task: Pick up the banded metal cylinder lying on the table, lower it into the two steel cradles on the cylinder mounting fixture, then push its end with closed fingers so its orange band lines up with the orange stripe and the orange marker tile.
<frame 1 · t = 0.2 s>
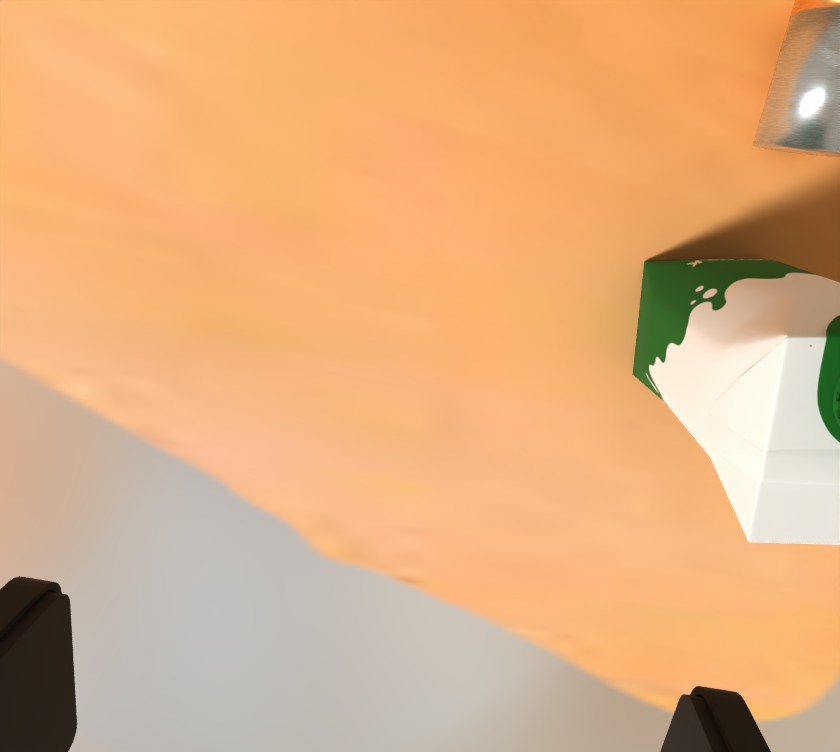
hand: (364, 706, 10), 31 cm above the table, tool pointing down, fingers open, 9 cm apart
milk carton: (694, 319, 38), on the table
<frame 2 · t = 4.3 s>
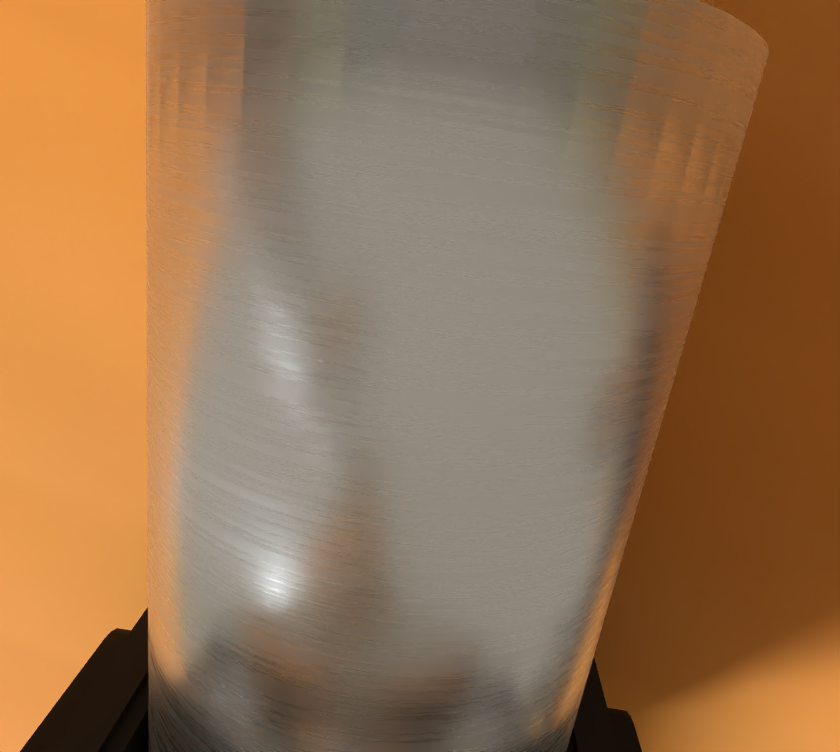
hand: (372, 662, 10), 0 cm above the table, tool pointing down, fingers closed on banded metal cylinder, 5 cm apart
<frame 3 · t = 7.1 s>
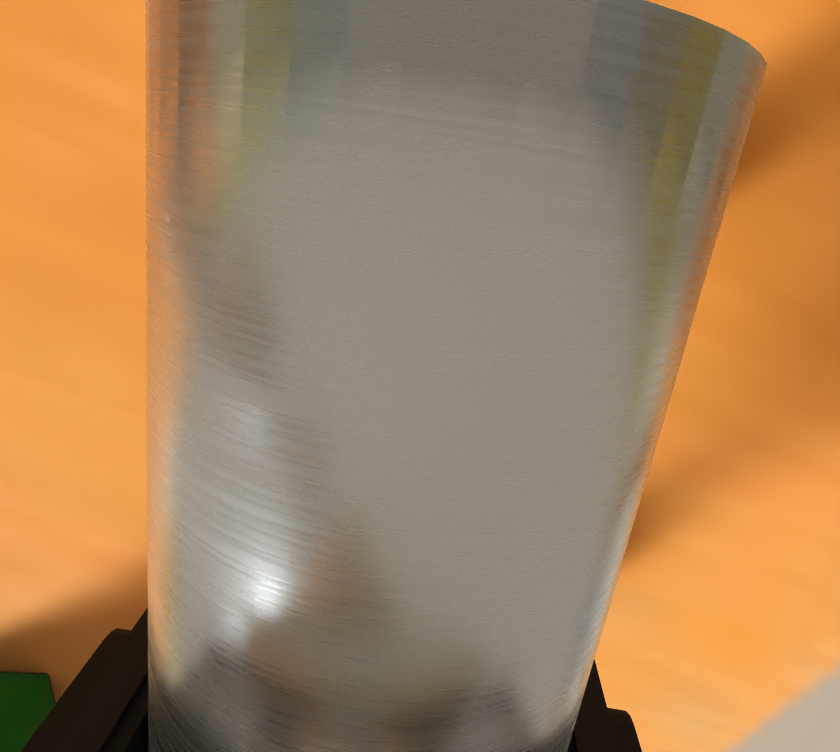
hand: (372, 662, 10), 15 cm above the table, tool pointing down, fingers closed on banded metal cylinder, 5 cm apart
milk carton: (0, 722, 33), on the table
when the fingers open (4 cm above the table, at t = 9.8 s): banded metal cylinder stays where it is, resting on cylinder mounting fixture.
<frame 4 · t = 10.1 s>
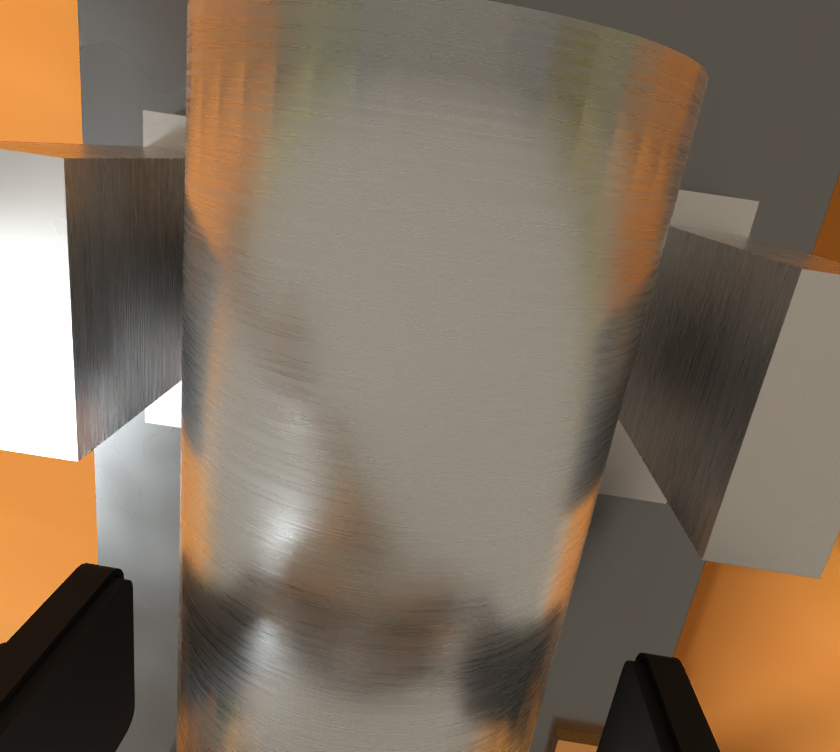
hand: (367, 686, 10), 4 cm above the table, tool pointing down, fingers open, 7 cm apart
cylinder mounting fixture: (388, 586, 15), on the table
banded metal cylinder: (355, 718, 9), point 5 cm above the table, touching cylinder mounting fixture
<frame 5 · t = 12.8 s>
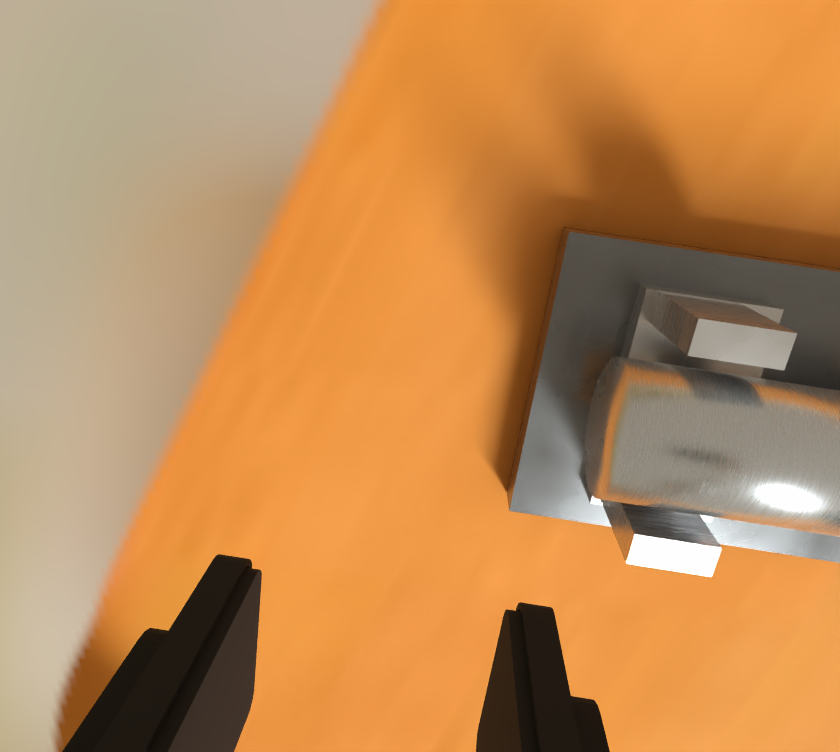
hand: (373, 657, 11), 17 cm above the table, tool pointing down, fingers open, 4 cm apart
cylinder mounting fixture: (826, 415, 27), on the table
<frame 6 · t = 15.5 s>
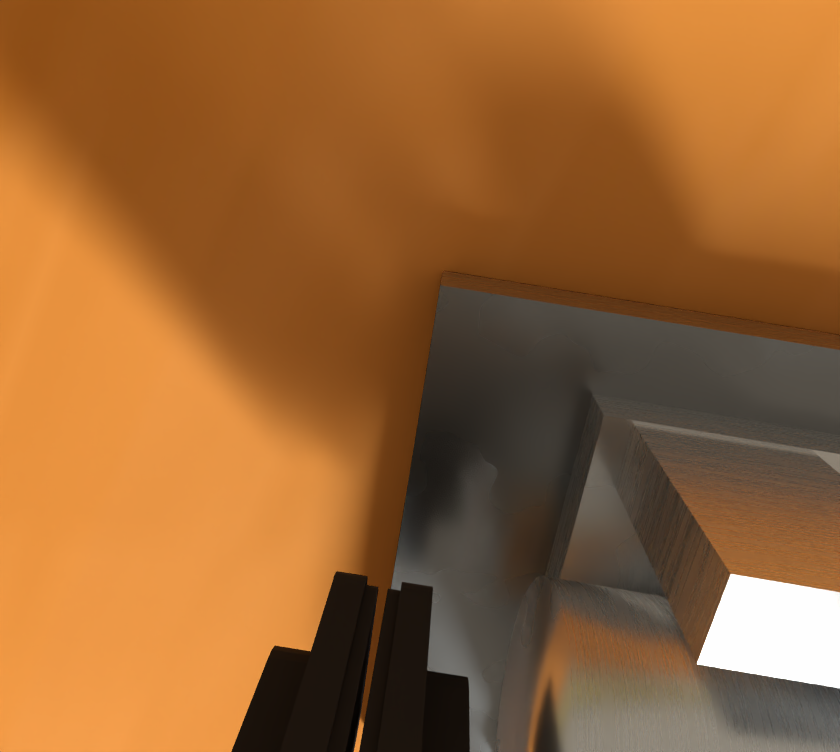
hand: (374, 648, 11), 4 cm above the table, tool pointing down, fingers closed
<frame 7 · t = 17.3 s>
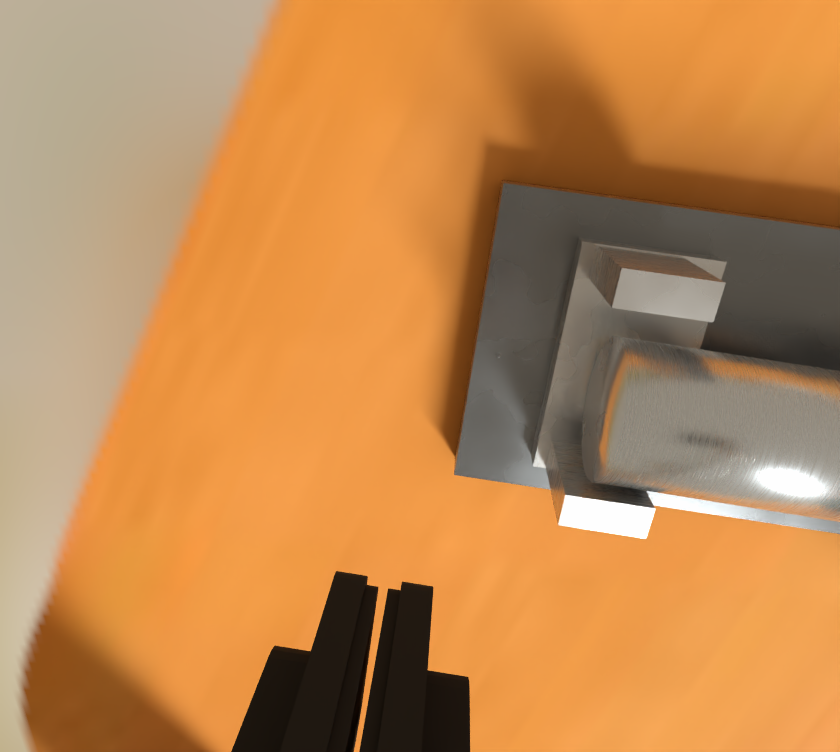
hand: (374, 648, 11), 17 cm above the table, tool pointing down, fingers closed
cylinder mounting fixture: (781, 375, 26), on the table
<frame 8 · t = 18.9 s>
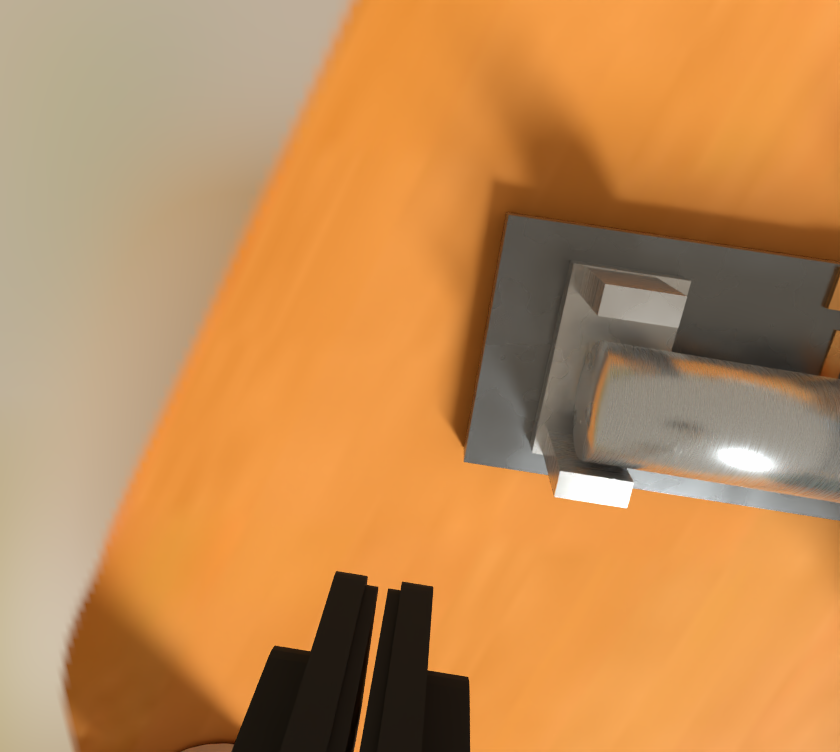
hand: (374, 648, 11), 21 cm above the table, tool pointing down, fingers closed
cylinder mounting fixture: (740, 377, 30), on the table
banded metal cylinder: (807, 435, 26), point 5 cm above the table, tilted 18°, touching cylinder mounting fixture
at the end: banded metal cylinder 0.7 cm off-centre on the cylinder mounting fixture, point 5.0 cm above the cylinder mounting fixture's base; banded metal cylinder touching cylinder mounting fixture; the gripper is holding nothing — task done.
